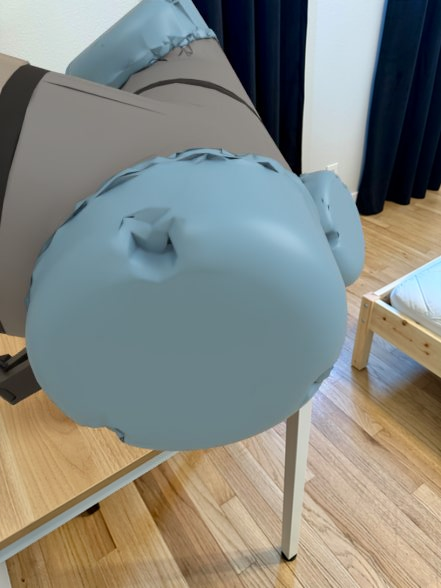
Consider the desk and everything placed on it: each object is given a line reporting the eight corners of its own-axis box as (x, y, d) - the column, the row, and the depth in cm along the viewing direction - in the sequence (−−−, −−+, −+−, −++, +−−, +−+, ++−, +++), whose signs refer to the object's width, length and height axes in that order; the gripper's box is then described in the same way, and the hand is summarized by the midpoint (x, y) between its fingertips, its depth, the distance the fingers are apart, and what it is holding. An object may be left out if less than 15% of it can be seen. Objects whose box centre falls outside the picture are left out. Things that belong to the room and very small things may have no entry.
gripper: (127, 447, 28) (-26, 446, 40) (231, 225, 45) (100, 271, 57) (45, 380, 25) (-97, 400, 37) (191, 164, 41) (60, 227, 53)
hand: (22, 322), depth 47 cm, fingers open, 13 cm apart
